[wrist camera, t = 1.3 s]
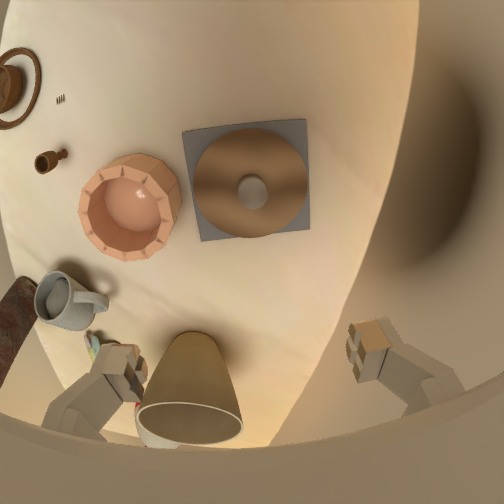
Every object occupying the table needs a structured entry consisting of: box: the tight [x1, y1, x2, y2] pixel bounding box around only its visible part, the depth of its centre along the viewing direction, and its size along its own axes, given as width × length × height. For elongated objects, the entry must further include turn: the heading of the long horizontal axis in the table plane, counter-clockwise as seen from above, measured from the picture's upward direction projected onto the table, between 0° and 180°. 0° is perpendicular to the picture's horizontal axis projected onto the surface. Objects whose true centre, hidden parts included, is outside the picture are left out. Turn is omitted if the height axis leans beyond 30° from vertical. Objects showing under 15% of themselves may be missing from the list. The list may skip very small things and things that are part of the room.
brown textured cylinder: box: [0, 277, 38, 388], centre depth 32 cm, size 8×7×20 cm
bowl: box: [78, 153, 182, 262], centre depth 31 cm, size 11×11×6 cm
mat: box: [182, 119, 310, 242], centre depth 34 cm, size 14×14×1 cm
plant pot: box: [136, 332, 243, 445], centre depth 41 cm, size 15×15×16 cm
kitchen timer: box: [135, 402, 181, 449], centre depth 53 cm, size 14×14×15 cm
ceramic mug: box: [34, 270, 109, 331], centre depth 35 cm, size 11×8×8 cm
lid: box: [193, 129, 308, 238], centre depth 31 cm, size 13×13×5 cm
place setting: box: [0, 48, 68, 174], centre depth 23 cm, size 18×20×6 cm
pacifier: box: [84, 335, 118, 363], centre depth 45 cm, size 7×6×6 cm
